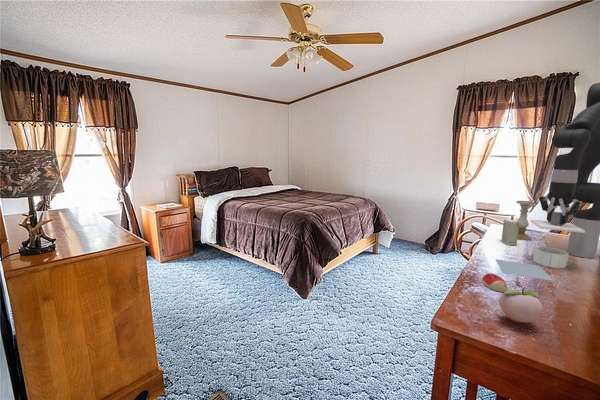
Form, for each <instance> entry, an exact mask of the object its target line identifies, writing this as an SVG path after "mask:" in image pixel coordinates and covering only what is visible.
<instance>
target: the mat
mask: <svg viewBox="0 0 600 400" xmlns="http://www.w3.org/2000/svg"><path fill="white" fill-rule="evenodd" d="M494 260H495V261H496V263H497V265H498V267H499V269H500V271H501V272H502V273H504V274H509V275H515V276H521V277H528V278H533V279H538V280H546V281H552V282H554V279H553V278H552V277H551V276H550V275H549V274H548V273H547V272H546V271H545V270H544V269H543V267H542V265H540V264H539V265H538V264H530V263H525V262H516V261H511V260H503V259H499V258H498V259H497V258H495V259H494Z"/></svg>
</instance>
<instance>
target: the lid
mask: <svg viewBox="0 0 600 400" xmlns="http://www.w3.org/2000/svg"><path fill="white" fill-rule="evenodd" d="M561 215H562V211H560V212H558V211H554V212H552V215H551V221H550V222H548V220H542V219H541V220H540V219H539V220H537V219H530V222H531V223H532V224H534V225H535V226H537V227H538V228H539V229H541V230H542V229H543V230H553V231H562V232H570V231H571V232H581V233H585V230H583V229H581V228H579V227H577V226H575V225H573V224H572V222H567V223H565V224H564V225H561V224H560V220H561Z"/></svg>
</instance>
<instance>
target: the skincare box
mask: <svg viewBox="0 0 600 400" xmlns="http://www.w3.org/2000/svg"><path fill="white" fill-rule="evenodd" d="M519 223H520V222H517V220H514V219H508V218H507V219H503V224H502V233H501V241H500V242H501V243H502V244H505V245H507V246H515V247H516V246H518V245H517V244H518V240H519V239H518V231H519Z"/></svg>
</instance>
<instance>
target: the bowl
mask: <svg viewBox="0 0 600 400" xmlns="http://www.w3.org/2000/svg"><path fill="white" fill-rule="evenodd" d="M569 255H570V254H569V253H567V250H566V251H565V250H562V249H559V248H555V247H549V246H535V247H534V252H533V258H532V260H533V262H534V263H537V265H538V264H539V265H540V266H545V267H550V268H555V269H556V268H557V269H566V268H567V264H568V260H569Z"/></svg>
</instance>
